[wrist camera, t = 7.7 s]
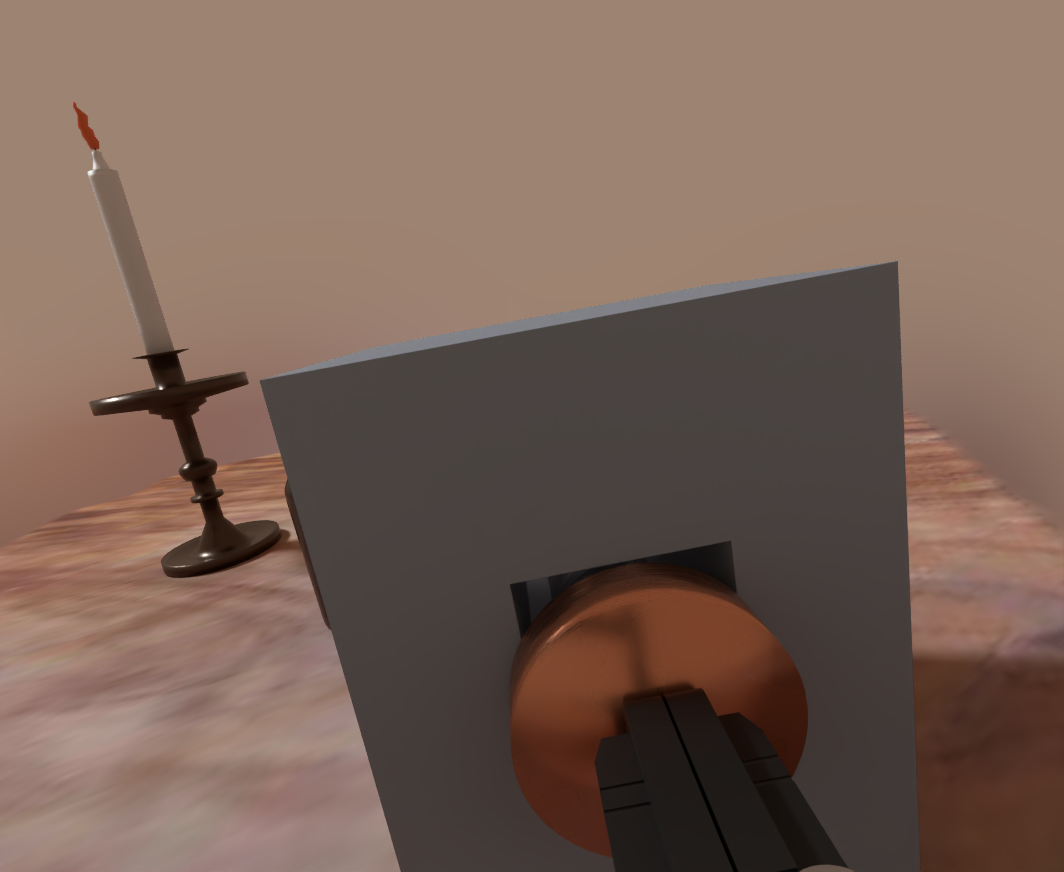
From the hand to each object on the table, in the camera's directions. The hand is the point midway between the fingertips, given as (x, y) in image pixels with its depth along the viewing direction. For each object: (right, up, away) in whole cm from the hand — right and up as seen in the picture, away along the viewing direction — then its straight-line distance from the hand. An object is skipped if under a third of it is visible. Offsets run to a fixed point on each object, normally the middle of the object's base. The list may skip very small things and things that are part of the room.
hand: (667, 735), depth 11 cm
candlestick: (-29, -5, +38) cm, 48 cm away
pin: (0, -1, +10) cm, 10 cm away
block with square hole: (+1, -6, +8) cm, 10 cm away
